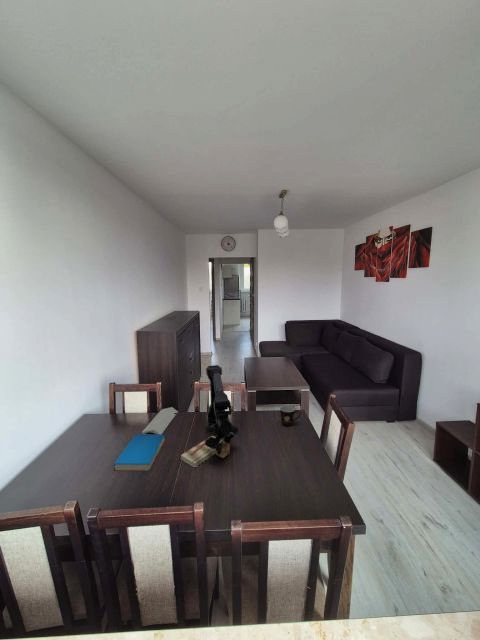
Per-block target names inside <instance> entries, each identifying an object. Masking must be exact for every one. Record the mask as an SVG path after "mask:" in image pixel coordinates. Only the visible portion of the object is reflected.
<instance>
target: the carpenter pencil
mask: <svg viewBox="0 0 480 640" xmlns="http://www.w3.org/2000/svg"><path fill="white" fill-rule="evenodd" d="M204 445H205V442H204V443H203V444H202V445H200V446H199V447H198V448H197V449H195V450H194V451H193V452H192V453H190V455H193V454H194V453H196V452H197V451H198V450H199V449H200V448H202V447H203V446H204Z"/></svg>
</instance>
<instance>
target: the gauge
mask: <svg viewBox="0 0 480 640" xmlns="http://www.w3.org/2000/svg"><path fill="white" fill-rule="evenodd" d="M220 443H221V444H222V449H221V453H220V455H218V453H217V451H216V448H215V451H216V454H215V455H216V456H218V457H220V458H222V459H224V458H225V457H227V456H228V455H229V454H230V453H231V452H230V451H231V450H230V449H231V448H230V446H231V443H230V444H228V443H226V442H224V440H223V441H221V442H220Z"/></svg>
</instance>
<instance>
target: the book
mask: <svg viewBox="0 0 480 640" xmlns="http://www.w3.org/2000/svg"><path fill="white" fill-rule="evenodd" d="M165 436H166V434H163V433H162V434H154V433H153V434H152V433H151V434H147V433H146V434H141V433H140V434H135V435H134V436H133V437H132V438H131V440H130V442H128V444H127V445H126V447H125V448H124V450H123V451H122V453H120V455H119V457H118V458H117V459H116V460H115V462H114V465H113V470H114V471H142V472H143V471H145V472H146V471H147V472H148V471H150V469H151V467H152V466H153V463H154V461H155V460H156V458H157V456H158V454H159V452H160V450H161V448H162V447H163V444H164V442H165Z"/></svg>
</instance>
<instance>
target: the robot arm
mask: <svg viewBox="0 0 480 640" xmlns="http://www.w3.org/2000/svg"><path fill="white" fill-rule="evenodd" d="M205 374H206V376H207V378H208V379H209V387H210V391H209V392H210V393H209V394H210V395H209V396H210V404H209V406H208V409H207V412H206V421H207V424H208V425H207V426H205V433H206V434H209V435H210V434H213V436H214V437H216V438H214V437H211V436H209V437H210V438H209V437H208V438H206V439H207V440H206V439H205V445H206V446H208V447H210V448H212V449H215V448H216V451H217V453H218V455H220V453H221V449H222V444H221V443H220V441H221V440H223V441H224V442H226V443H228V444H230V445H231V442H232V440H233V439H234V437H235V435H238V434H239V428H238V427H237V426H234V425H232V422H231V420H230V418H229V416H232V411H233V408H232V403H231V401H230V399H229V397H228V395H227V394H226V392H225V390H224V386H223V382H222V381H223V380H222V375H223V368H222V367H221V366H220V365H218V364H217V365H216V364H215V365H208V366H207V367H206V368H205ZM218 455H217V456H218Z"/></svg>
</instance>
